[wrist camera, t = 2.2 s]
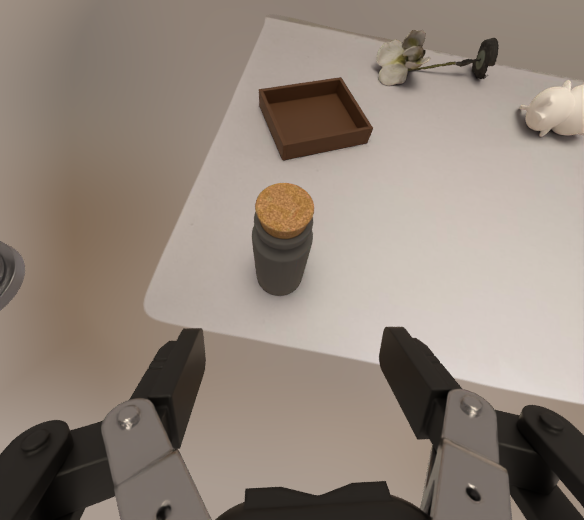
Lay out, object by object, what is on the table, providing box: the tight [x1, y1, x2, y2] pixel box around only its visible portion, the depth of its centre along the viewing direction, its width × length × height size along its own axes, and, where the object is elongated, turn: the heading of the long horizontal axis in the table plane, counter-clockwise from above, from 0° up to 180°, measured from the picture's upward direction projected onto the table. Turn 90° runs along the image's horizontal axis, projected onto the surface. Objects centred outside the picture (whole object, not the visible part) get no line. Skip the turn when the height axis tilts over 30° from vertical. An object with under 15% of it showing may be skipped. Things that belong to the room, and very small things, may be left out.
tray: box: [259, 77, 373, 160], centre depth 46 cm, size 15×13×3 cm
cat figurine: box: [520, 80, 584, 137], centre depth 49 cm, size 9×11×12 cm
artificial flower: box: [376, 30, 498, 86], centre depth 52 cm, size 9×22×10 cm, turn 92°
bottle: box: [252, 183, 314, 296], centre depth 28 cm, size 6×6×15 cm
